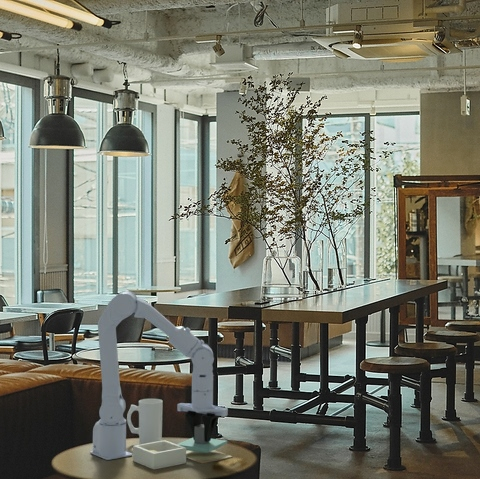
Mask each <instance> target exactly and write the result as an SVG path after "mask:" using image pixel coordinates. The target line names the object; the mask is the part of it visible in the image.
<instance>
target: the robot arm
mask: <svg viewBox="0 0 480 479" xmlns="http://www.w3.org/2000/svg"><path fill="white" fill-rule="evenodd" d="M103 310H104V311H103V312H102V314H101V315H100V317H99V319H98V321H97V333H98V349H99V358H100V359H99V360H100V373H101V388H102V389H101V390H102V391H101V406H100V407H99V412H98V413H99V418H100V419H99V420H98V421H96V422H95V424H94V426H93V428H92V450H90V451H89V454H91V455H94V456H96V457H99V458H101V459H103V460H105V461H110V460H116V459H120V458H125V457H126V458H127V457H131V456H132V457H133V452H132V453H131V452H130V451H127V418H125V416H124V413H125V411H126V406H127V405H126V400H125V399H124V397H123V396H122V395H123V394H122V387H121V384H120V381H121V380H120V368H119V356H118V354H119V353H118V341H117V327H118V325H119V324H120V323H121V322H122V321H123V320H125V319H126V318H128V317H130V316H132V315H133V313H134V316H133V317H134V318H136V319H137V318H139V319H145V320H147V322H149V323H151V324H152V325H153V326H154V327H156V328H157V329H159V330H160V331H161V332H162V333H163V334H165V335H166V336H168V343H169V344H170V345H172V347H174V348H175V350H177V351H178V352H180V353H181V354H182V355H183V356H184V357H186V358H188V359H190V360H191V362H192V373H191V403H187V402H186V403H184V402H180V403H177V408H176V409H177V412H187V413H186V414H185V419H186V421H187V423H188V426H189V428H190V430H191V434H192V438H193V439H194V429H195V426H197V425H199V424H201V420H202V421H203V422H202V423H203V425H204V436H205V442H208V441H210V440H211V439H212V435H213V431H214V428H215V426H216V425H217V422H218V420H219V418H220V416H221V418H225V417H227V416H228V414H229V413H228V412H229V409H228V408H227V407H222V406H217V405H214V373H213V371H214V367H213V363H214V360H215V357H214V352H213V349H212V348H211V347H210V346H209V344H207V343H205V341H204V340H203V339H199V338H198V337H197V336H195V334H193V333H192V332H191V331H192V330H191V328H189V327H188V326H187V327H184V326H183V325H182V326H181V325H180V326H175V324H173V323H172V322H171V321H170V320H169V319H167V318H166V317H165V316H164V315H163V314H162V313H161V312H159V311H158V310H157V309H156V308H155V307H154V306H152V305H151V304H150V303H149V302H147V300H145V299H143V298H142V297H141V296H138V297H137V294H136V293H134V292H133V291H130V290H122V291H120V292H119V293H118V294H116V295H115V296H114V297H113V298H112V299H111V300H110V301H109V302H108V303H107V305H106V307H105V308H104V309H103ZM203 414H204V415H203Z"/></svg>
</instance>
